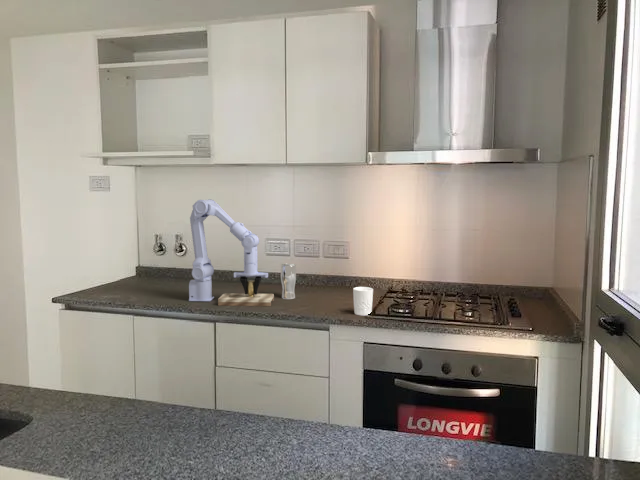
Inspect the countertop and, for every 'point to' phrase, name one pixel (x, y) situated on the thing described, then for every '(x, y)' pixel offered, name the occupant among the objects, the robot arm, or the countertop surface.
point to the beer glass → (288, 280)
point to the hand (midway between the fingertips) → (251, 294)
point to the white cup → (362, 300)
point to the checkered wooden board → (245, 299)
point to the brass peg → (251, 288)
